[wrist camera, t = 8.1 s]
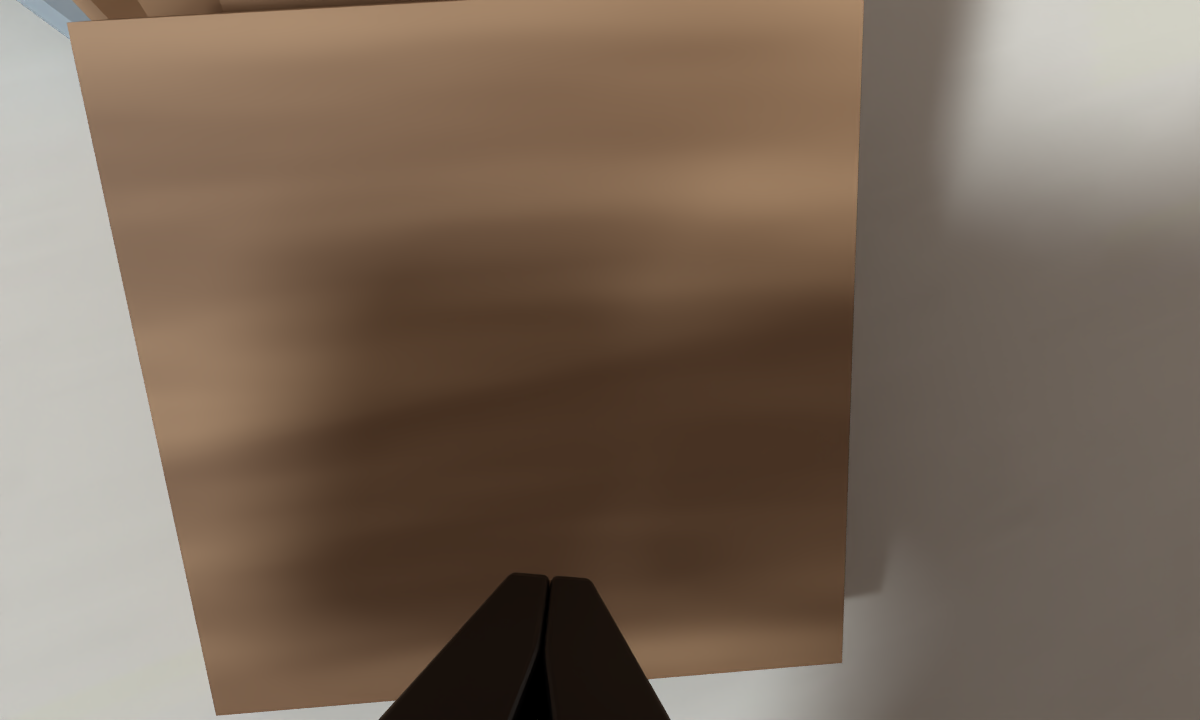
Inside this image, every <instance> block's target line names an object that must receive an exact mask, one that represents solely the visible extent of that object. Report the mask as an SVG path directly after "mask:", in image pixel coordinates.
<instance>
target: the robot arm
mask: <svg viewBox="0 0 1200 720" xmlns="http://www.w3.org/2000/svg"><path fill="white" fill-rule="evenodd" d="M379 720H670V718H669V716H668V714H667V713H666V711H665V709H664V707H663V705H662V704H661V702H660V700H659V698H658V697H657V695H656V693H655V691H654V690H653V688H652V686H651V684H650V683H649V681H648V679H647V677H646V676H645V674H644V672H643V670H642V668H641V667H640V665H639V663H638V661H637V660H636V658H635V656H634V654H633V653H632V651H631V649H630V647H629V646H628V644H627V642H626V640H625V639H624V637H623V635H622V633H621V631H620V630H619V628H618V626H617V624H616V623H615V621H614V619H613V617H612V616H611V614H610V612H609V610H608V609H607V607H606V605H605V603H604V602H603V600H602V598H601V596H600V594H599V593H598V591H597V589H596V587H595V586H594V584H593V583H592V581H591V580H589V579H587V578H580V577H568V576H555V577H553V578H552V580H551V583H550V580H549V578H548V577H547V576H546V575H543V574H531V573H518V572H515V573H511V574H510V575H508V576H507V577H506V579H505V580H504V581H503V582H502V583H501V584H500V585H499V586H498V587H497V589H496V590H495V591H494V592H493V593H492V594H491V595H490V596H489V597H488V599H487V600H486V601H485V602H484V603H483V604H482V605H481V606H480V607H479V609H478V610H477V611H476V612H475V613H474V614H473V615H472V616H471V617H470V619H469V620H468V621H467V622H466V623H465V624H464V625H463V626H462V627H461V629H460V630H459V631H458V632H457V633H456V634H455V635H454V636H453V637H452V639H451V640H450V641H449V642H448V643H447V644H446V645H445V646H444V647H443V649H442V650H441V651H440V652H439V653H438V654H437V655H436V656H435V657H434V659H433V660H432V661H431V662H430V663H429V664H428V665H427V666H426V668H425V669H424V670H423V671H422V672H421V673H420V674H419V675H418V676H417V678H416V679H415V680H414V681H413V682H412V683H411V684H410V685H409V686H408V688H407V689H406V690H405V691H404V692H403V693H402V694H401V695H400V696H399V698H398V699H397V700H396V701H395V702H394V703H393V704H392V705H391V706H390V708H389V709H388V710H387V711H386V712H385V713H384V714H383V715H382V716H381V718H380V719H379Z"/></svg>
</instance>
